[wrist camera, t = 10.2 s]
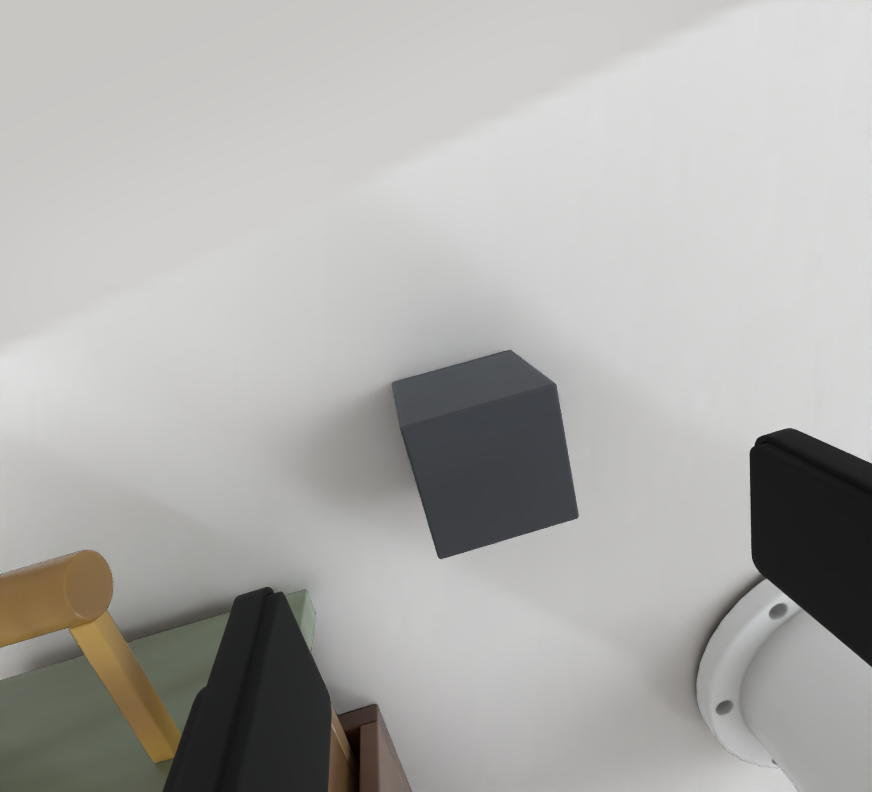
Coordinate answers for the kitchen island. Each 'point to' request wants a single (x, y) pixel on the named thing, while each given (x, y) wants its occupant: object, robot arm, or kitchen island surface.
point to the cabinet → (373, 751)
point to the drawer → (110, 687)
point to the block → (486, 451)
